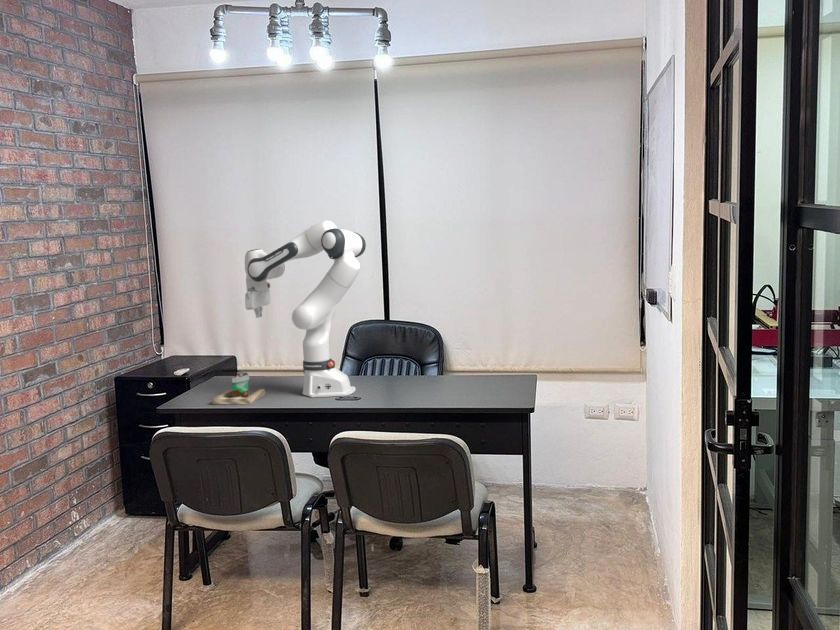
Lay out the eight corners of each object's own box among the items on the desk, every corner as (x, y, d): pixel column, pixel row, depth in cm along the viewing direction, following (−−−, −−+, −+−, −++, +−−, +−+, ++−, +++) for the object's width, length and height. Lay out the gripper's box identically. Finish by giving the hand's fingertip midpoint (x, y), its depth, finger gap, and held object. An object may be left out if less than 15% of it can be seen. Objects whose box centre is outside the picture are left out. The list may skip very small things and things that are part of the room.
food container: (248, 400, 338) (246, 377, 337) (233, 401, 338) (231, 377, 336) (253, 394, 350) (251, 371, 349) (239, 394, 350) (237, 372, 349)
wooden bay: (265, 394, 347) (264, 389, 347) (249, 404, 331) (248, 398, 330) (229, 395, 350) (229, 389, 350) (212, 404, 334) (212, 398, 333)
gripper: (254, 288, 348) (256, 320, 350) (271, 283, 368) (274, 313, 370) (240, 288, 350) (242, 320, 351) (258, 284, 369) (260, 314, 371)
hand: (259, 317), depth 361 cm, fingers closed
